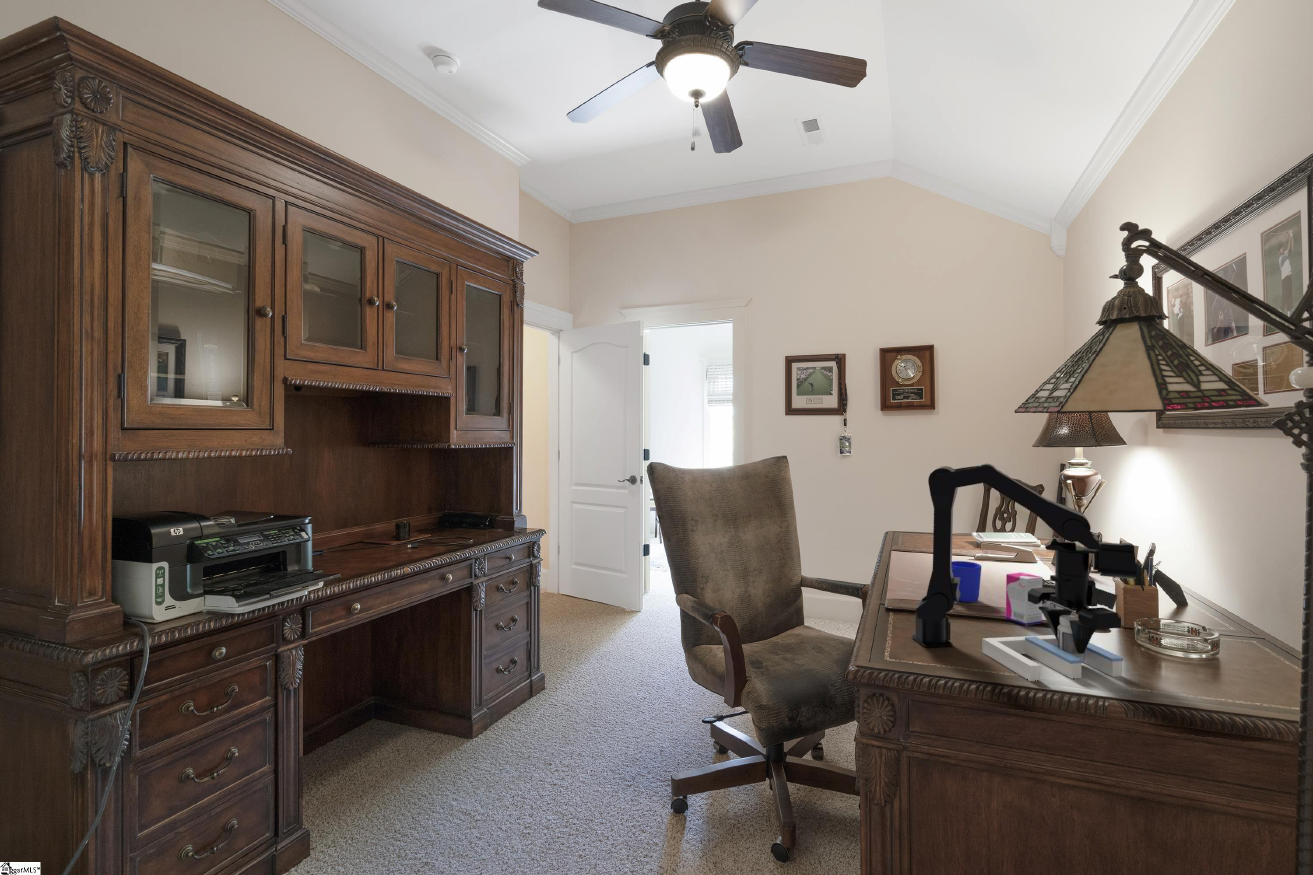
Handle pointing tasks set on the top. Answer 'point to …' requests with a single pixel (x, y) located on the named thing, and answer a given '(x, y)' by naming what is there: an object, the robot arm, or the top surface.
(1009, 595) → the supplement box
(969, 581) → the mug
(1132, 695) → the top surface
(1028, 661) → the white shelf frame
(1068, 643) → the pill bottle
